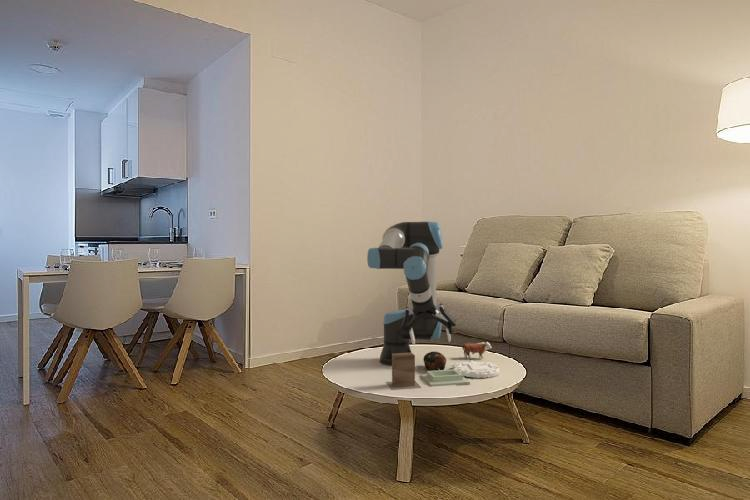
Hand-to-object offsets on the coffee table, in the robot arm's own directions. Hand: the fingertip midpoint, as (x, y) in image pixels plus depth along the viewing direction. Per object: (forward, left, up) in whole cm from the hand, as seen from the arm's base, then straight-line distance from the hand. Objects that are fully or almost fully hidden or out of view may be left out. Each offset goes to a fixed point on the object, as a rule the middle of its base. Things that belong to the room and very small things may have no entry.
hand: (431, 340), depth 195 cm
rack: (-12, +9, -19) cm, 24 cm away
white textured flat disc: (-21, +26, -20) cm, 39 cm away
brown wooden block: (-9, -9, -19) cm, 22 cm away
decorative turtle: (-28, +10, -19) cm, 35 cm away
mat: (-9, -9, -19) cm, 23 cm away
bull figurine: (-41, +35, -19) cm, 57 cm away
